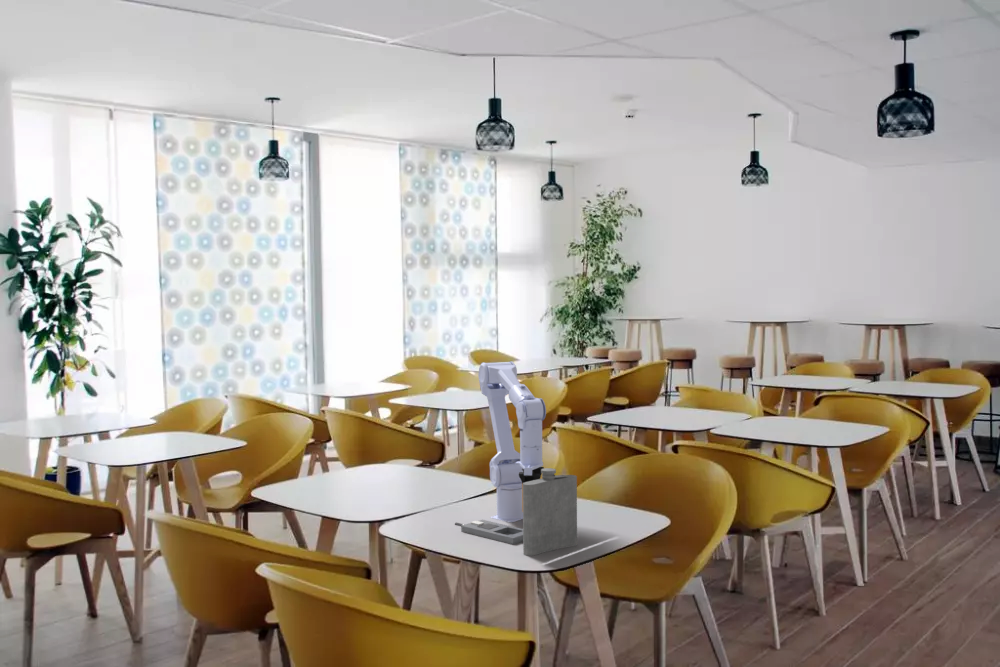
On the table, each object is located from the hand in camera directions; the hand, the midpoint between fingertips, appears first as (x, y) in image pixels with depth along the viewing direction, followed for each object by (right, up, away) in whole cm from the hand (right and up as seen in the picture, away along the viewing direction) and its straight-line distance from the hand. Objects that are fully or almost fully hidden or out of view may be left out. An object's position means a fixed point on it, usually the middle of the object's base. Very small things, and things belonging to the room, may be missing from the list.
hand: (531, 497), depth 232 cm
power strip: (-11, -10, 0) cm, 15 cm away
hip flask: (+4, -10, -15) cm, 19 cm away
